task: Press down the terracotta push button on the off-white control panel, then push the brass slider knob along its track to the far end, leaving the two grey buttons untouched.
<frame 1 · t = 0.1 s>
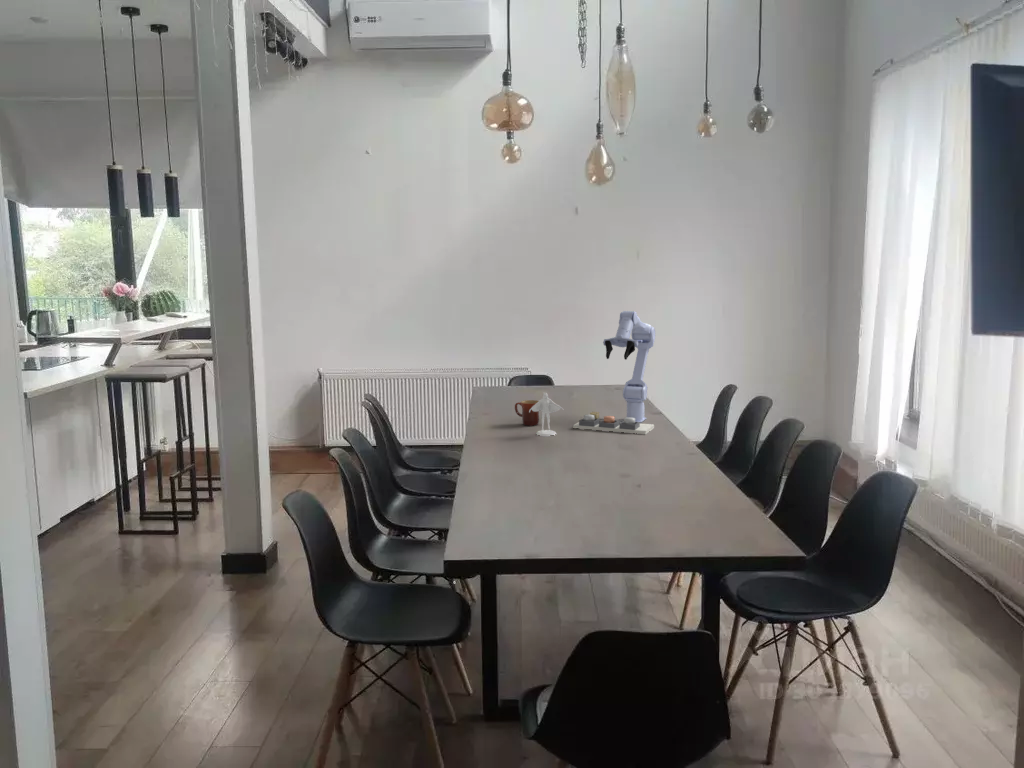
hand: (616, 357, 332), 32 cm above the table, tool tilted 50°, fingers open, 7 cm apart
terracotta button: (609, 419, 344), point 4 cm above the table, slide at 0.0 cm
brass slider: (594, 416, 354), point 4 cm above the table, slide at 0.0 cm
figurine: (546, 434, 339), on the table
grey button 2: (629, 421, 340), point 4 cm above the table, slide at 0.0 cm
grey button 1: (589, 418, 348), point 4 cm above the table, slide at 0.0 cm
mug: (527, 424, 358), on the table
panel: (613, 428, 347), on the table
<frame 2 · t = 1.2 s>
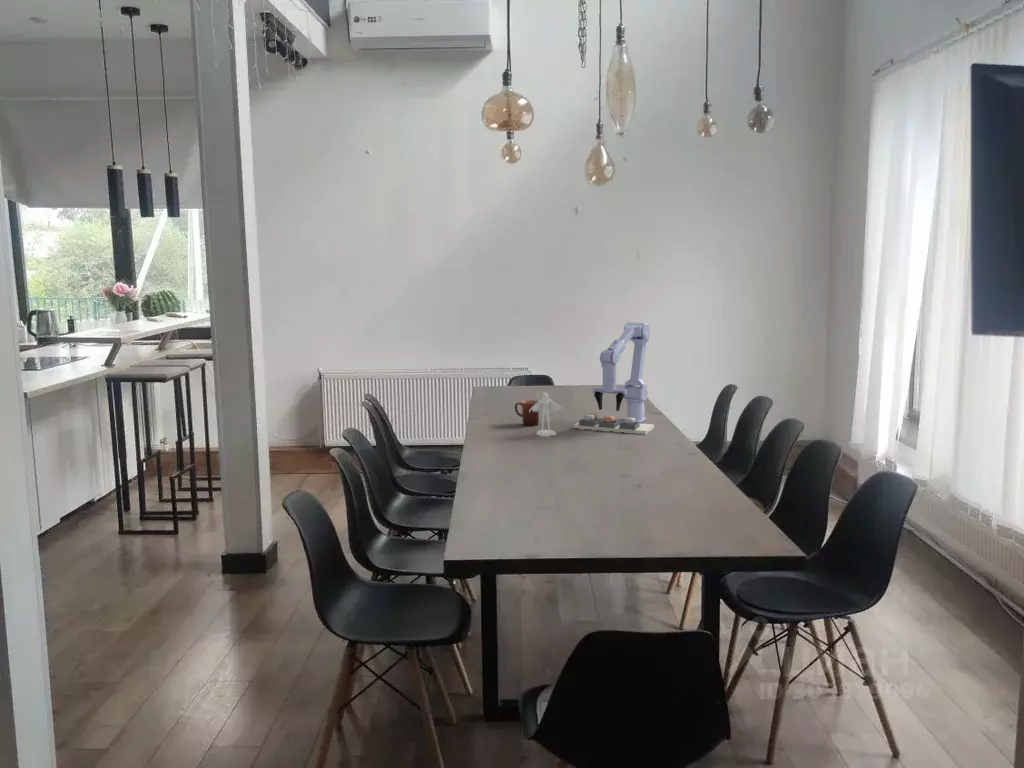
hand: (609, 410, 343), 8 cm above the table, tool pointing down, fingers open, 7 cm apart
nothing on the table moved.
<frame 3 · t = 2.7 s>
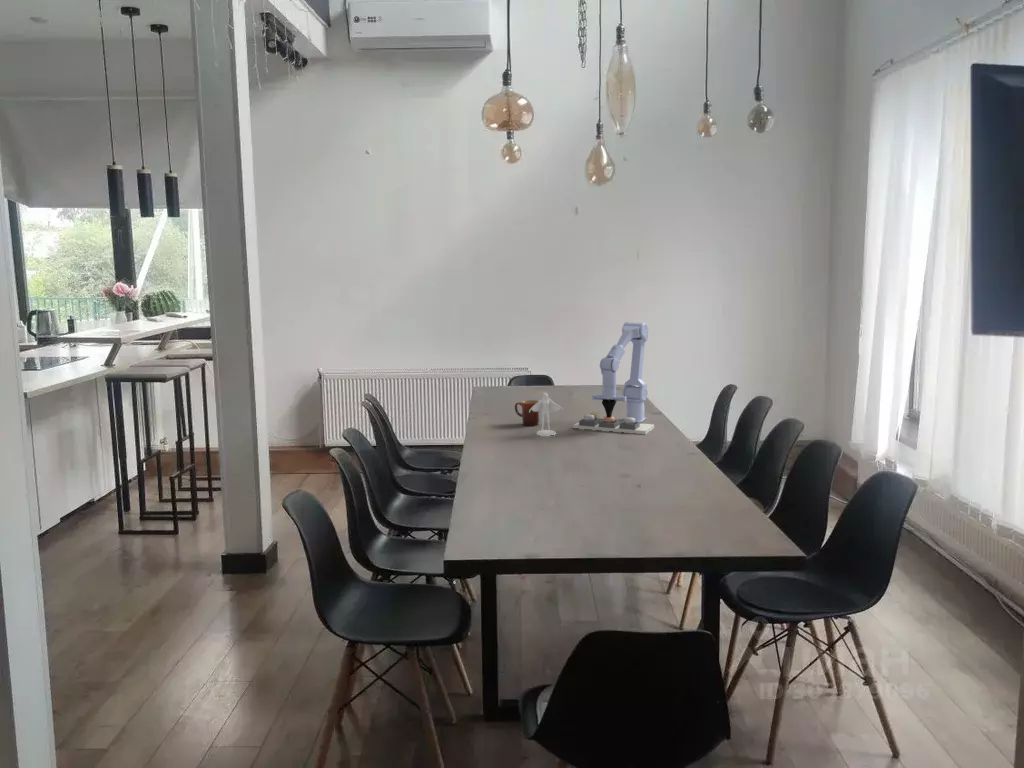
hand: (609, 417, 344), 5 cm above the table, tool pointing down, fingers closed, pressing on terracotta button
terracotta button: (609, 419, 344), point 4 cm above the table, slide at 0.1 cm, touching gripper
everything else where it was.
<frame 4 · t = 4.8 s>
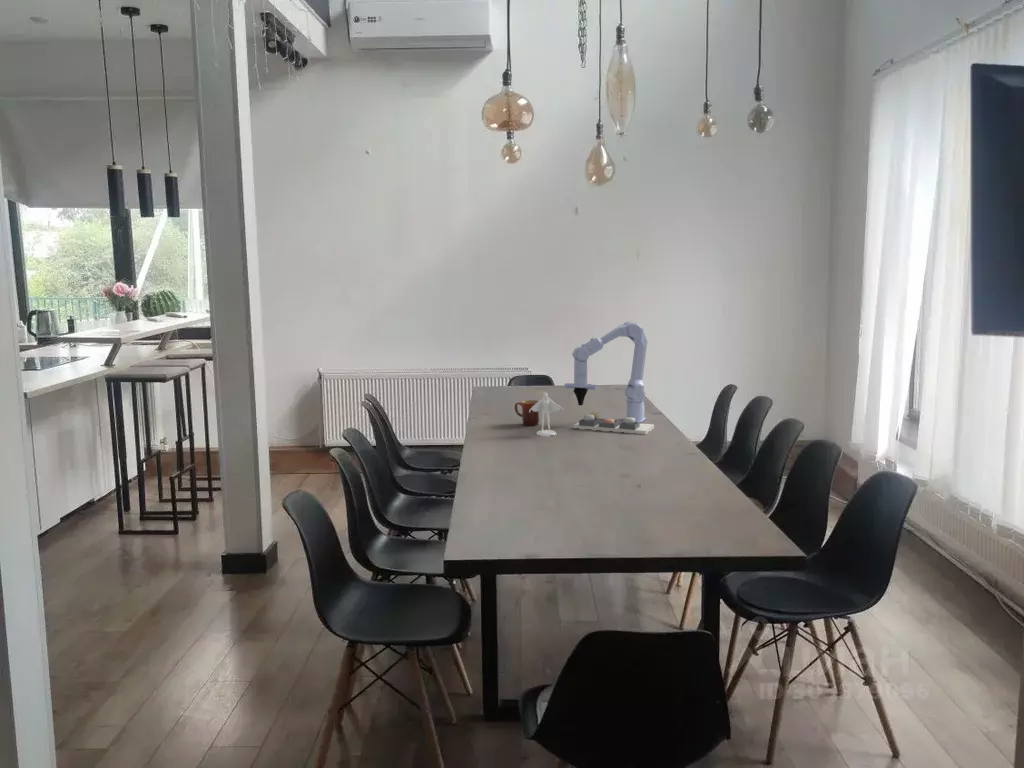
hand: (580, 405, 356), 8 cm above the table, tool pointing down, fingers closed
terracotta button: (609, 422, 344), point 3 cm above the table, slide at 1.3 cm
everything else where it was.
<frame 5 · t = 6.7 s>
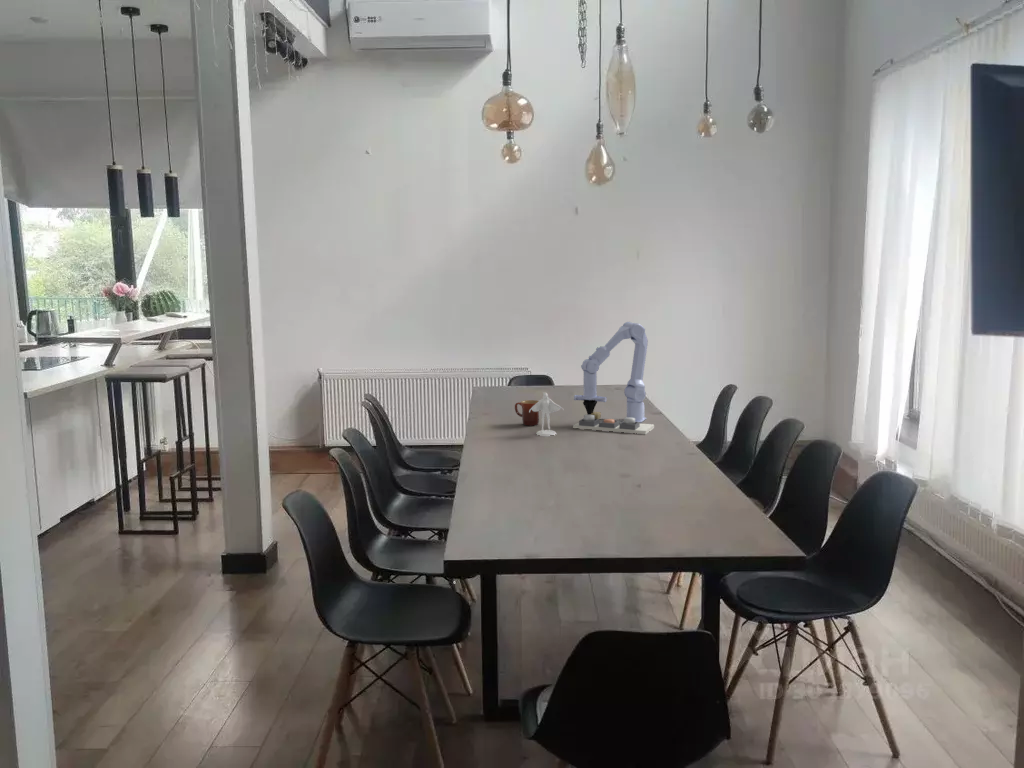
hand: (590, 417, 355), 3 cm above the table, tool pointing down, fingers closed
brass slider: (596, 416, 354), point 4 cm above the table, slide at 0.7 cm, touching gripper
everything else where it was.
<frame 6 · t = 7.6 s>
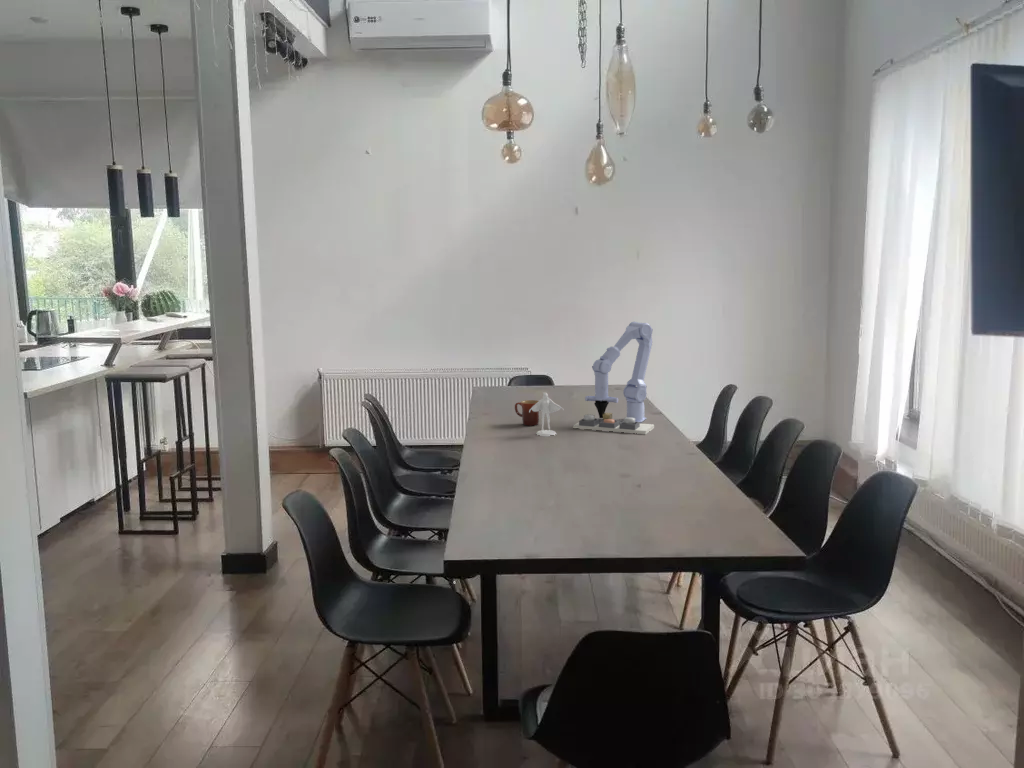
hand: (601, 417, 353), 3 cm above the table, tool pointing down, fingers closed
brass slider: (607, 417, 352), point 4 cm above the table, slide at 6.0 cm, touching gripper
everything else where it was.
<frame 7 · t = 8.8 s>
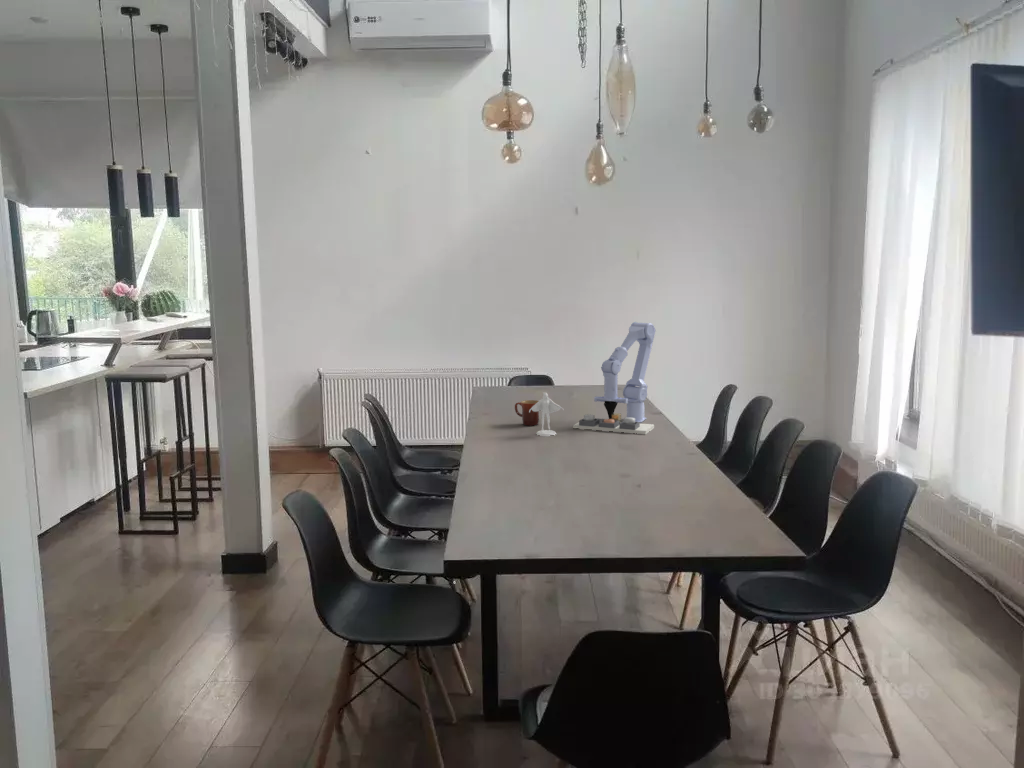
hand: (610, 418, 351), 3 cm above the table, tool pointing down, fingers closed
brass slider: (616, 418, 350), point 4 cm above the table, slide at 10.1 cm, touching gripper
everything else where it was.
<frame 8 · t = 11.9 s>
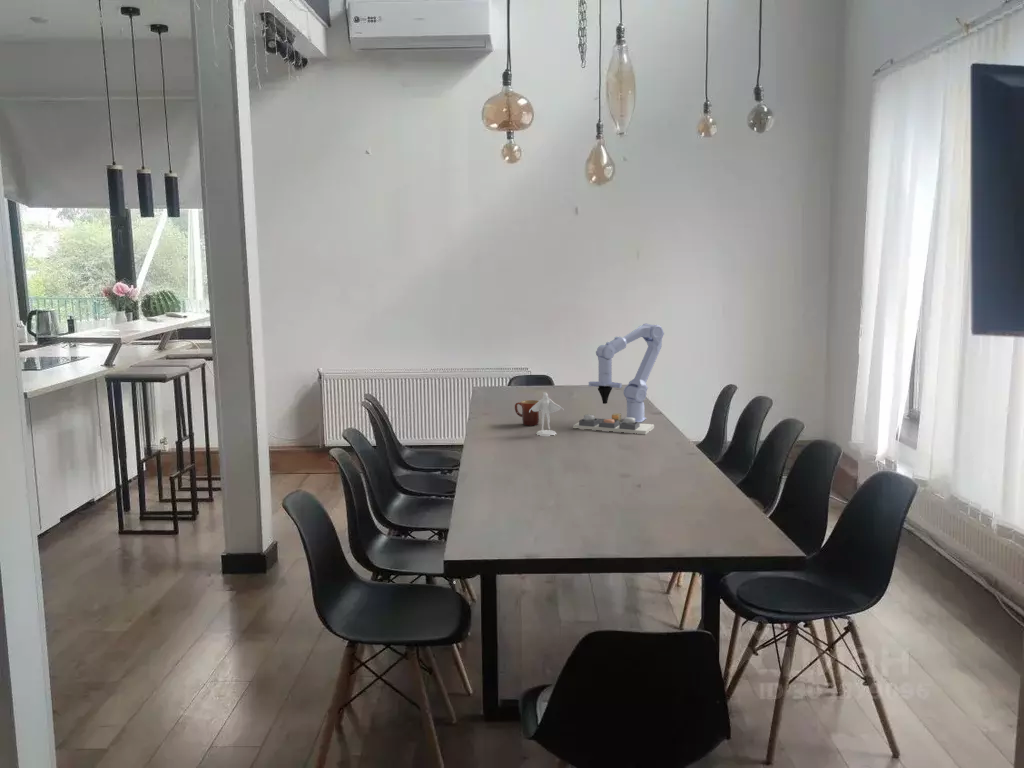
hand: (605, 403, 354), 9 cm above the table, tool pointing down, fingers closed
brass slider: (616, 418, 350), point 4 cm above the table, slide at 10.1 cm
everything else where it was.
at the end: terracotta button slide at 1.3 cm; brass slider slide at 10.1 cm; grey button 1 slide at 0.0 cm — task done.
